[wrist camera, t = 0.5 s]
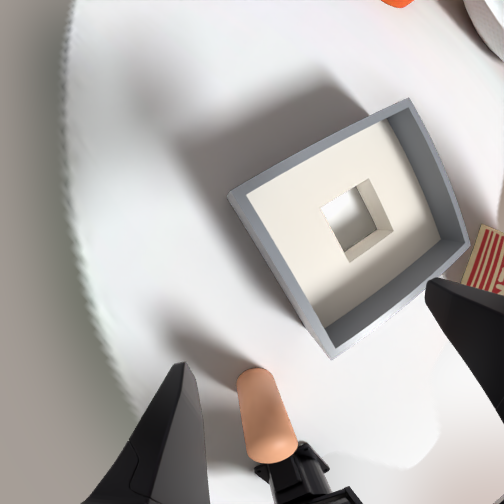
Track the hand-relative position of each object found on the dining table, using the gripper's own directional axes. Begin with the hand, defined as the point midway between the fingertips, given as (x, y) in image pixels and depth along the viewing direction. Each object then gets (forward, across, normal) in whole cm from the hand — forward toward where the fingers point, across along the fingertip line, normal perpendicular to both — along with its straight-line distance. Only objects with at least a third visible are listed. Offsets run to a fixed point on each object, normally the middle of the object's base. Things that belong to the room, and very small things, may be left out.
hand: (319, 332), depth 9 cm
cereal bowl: (+20, -42, -18) cm, 50 cm away
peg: (+9, +4, +13) cm, 16 cm away
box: (+13, -7, +2) cm, 15 cm away
